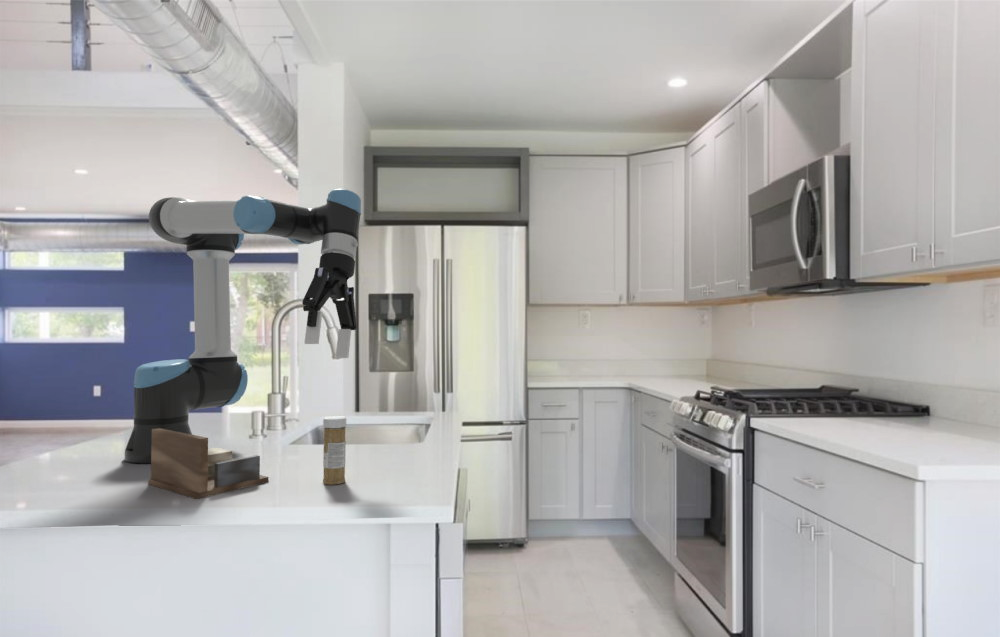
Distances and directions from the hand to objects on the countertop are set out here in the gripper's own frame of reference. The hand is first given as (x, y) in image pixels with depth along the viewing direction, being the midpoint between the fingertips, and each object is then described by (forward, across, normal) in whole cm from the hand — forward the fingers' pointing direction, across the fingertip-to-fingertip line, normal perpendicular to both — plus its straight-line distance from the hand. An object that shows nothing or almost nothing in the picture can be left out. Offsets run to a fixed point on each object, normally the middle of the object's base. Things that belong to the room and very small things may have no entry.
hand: (327, 351), depth 125 cm
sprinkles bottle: (+27, +4, -2) cm, 27 cm away
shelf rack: (+28, -1, +22) cm, 35 cm away
